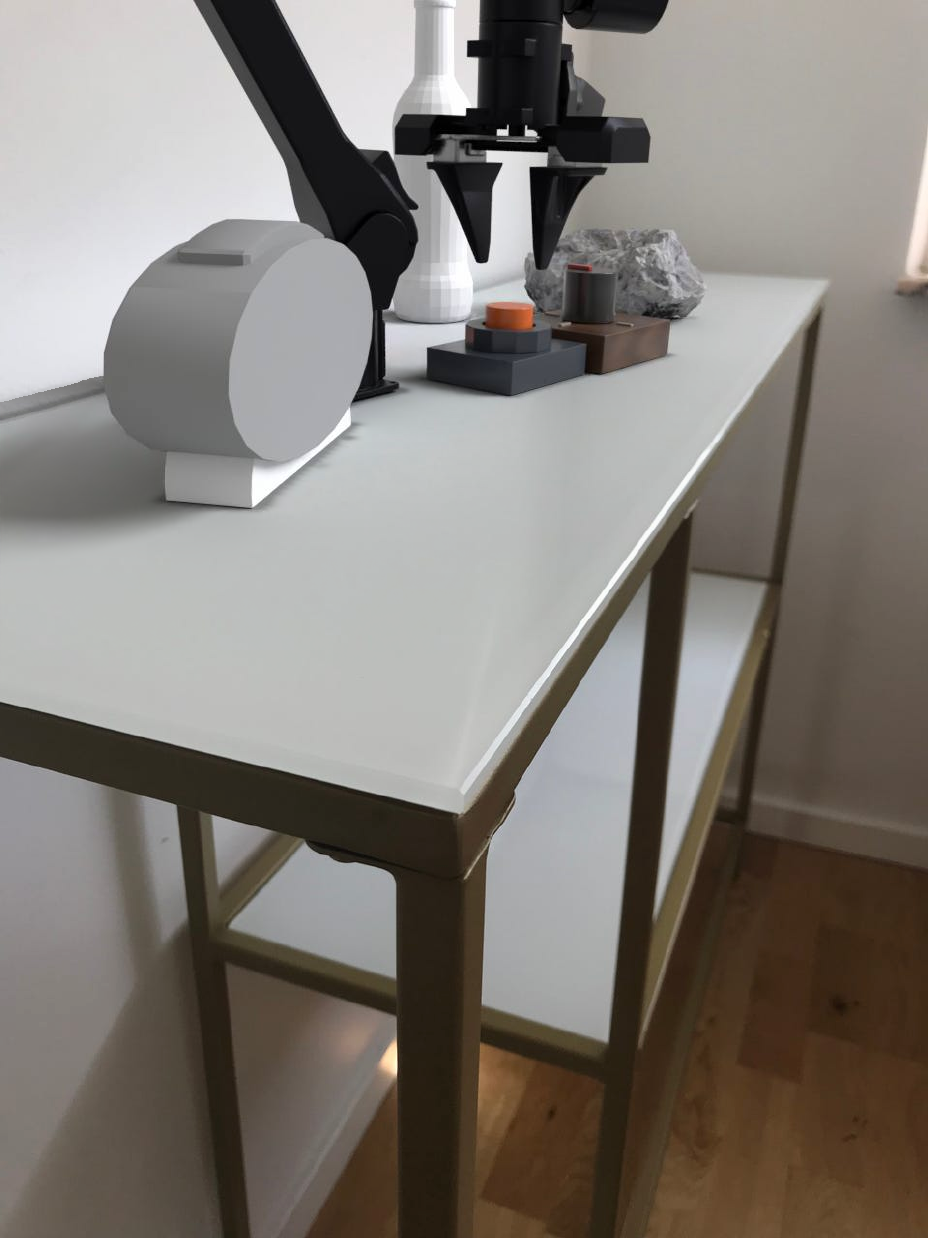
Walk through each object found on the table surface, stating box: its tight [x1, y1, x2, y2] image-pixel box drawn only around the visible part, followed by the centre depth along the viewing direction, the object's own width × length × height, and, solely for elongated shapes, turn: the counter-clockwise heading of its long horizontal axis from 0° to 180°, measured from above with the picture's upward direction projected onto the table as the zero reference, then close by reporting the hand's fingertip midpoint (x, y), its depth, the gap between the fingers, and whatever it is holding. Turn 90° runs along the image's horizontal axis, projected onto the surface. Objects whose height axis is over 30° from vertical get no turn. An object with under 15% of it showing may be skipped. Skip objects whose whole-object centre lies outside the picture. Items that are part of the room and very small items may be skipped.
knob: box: [562, 264, 618, 324], centre depth 86 cm, size 4×4×4 cm
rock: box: [523, 227, 708, 319], centre depth 106 cm, size 18×15×10 cm
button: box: [485, 301, 534, 329], centre depth 78 cm, size 4×4×2 cm
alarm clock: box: [102, 218, 373, 509], centre depth 56 cm, size 23×6×13 cm, turn 169°
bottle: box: [391, 0, 474, 324], centre depth 98 cm, size 8×8×30 cm
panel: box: [533, 309, 671, 375], centre depth 88 cm, size 11×10×3 cm
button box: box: [426, 317, 586, 396], centre depth 79 cm, size 10×8×4 cm
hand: (511, 266), depth 77 cm, fingers open, 5 cm apart
